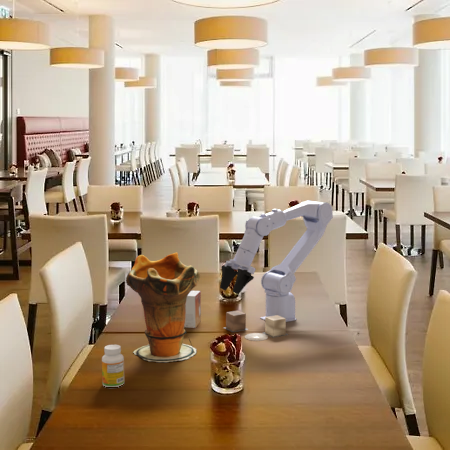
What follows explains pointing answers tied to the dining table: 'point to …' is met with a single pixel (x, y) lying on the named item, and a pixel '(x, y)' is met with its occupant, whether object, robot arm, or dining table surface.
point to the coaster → (256, 336)
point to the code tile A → (235, 331)
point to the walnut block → (235, 320)
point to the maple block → (275, 325)
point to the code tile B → (274, 336)
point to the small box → (193, 309)
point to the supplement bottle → (112, 366)
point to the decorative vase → (163, 305)
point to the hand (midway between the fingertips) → (229, 291)
